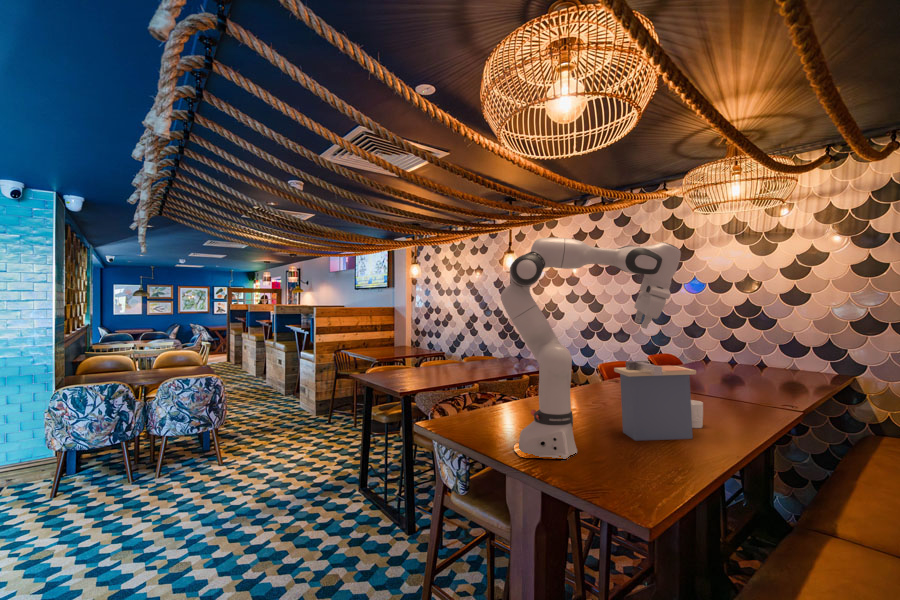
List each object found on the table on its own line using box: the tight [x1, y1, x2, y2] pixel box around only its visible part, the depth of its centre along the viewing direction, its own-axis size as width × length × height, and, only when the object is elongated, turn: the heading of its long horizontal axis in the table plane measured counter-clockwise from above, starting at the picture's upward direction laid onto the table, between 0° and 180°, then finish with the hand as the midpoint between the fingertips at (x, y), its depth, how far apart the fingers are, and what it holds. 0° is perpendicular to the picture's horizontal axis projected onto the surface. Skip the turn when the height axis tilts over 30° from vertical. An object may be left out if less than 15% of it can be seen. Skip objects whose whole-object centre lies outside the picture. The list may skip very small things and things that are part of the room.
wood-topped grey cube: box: [613, 365, 697, 442], centre depth 148 cm, size 26×12×26 cm, turn 90°
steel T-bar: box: [625, 360, 662, 376], centre depth 142 cm, size 8×16×3 cm, turn 0°
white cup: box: [691, 399, 704, 429], centre depth 158 cm, size 8×8×10 cm
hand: (640, 325), depth 136 cm, fingers open, 8 cm apart
